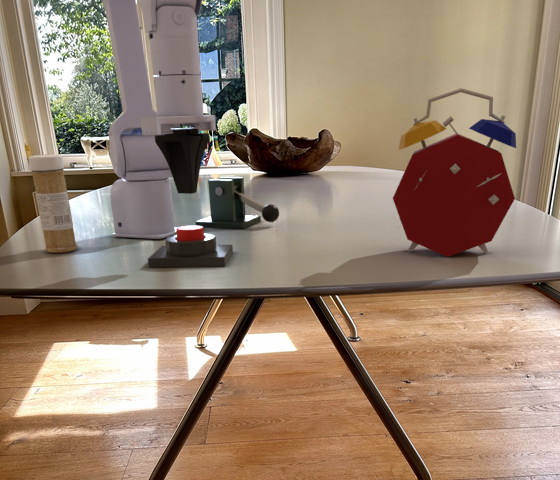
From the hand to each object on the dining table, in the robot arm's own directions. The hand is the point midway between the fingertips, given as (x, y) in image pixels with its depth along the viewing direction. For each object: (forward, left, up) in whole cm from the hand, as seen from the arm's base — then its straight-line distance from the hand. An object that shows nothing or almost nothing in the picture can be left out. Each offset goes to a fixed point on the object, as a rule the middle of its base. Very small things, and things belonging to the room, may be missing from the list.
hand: (187, 193), depth 78 cm
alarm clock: (+32, +11, -9) cm, 35 cm away
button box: (0, -1, -9) cm, 9 cm away
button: (0, -1, -6) cm, 6 cm away
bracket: (-8, +26, -9) cm, 29 cm away
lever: (-4, +26, -6) cm, 28 cm away
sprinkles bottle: (-22, 0, -9) cm, 24 cm away
